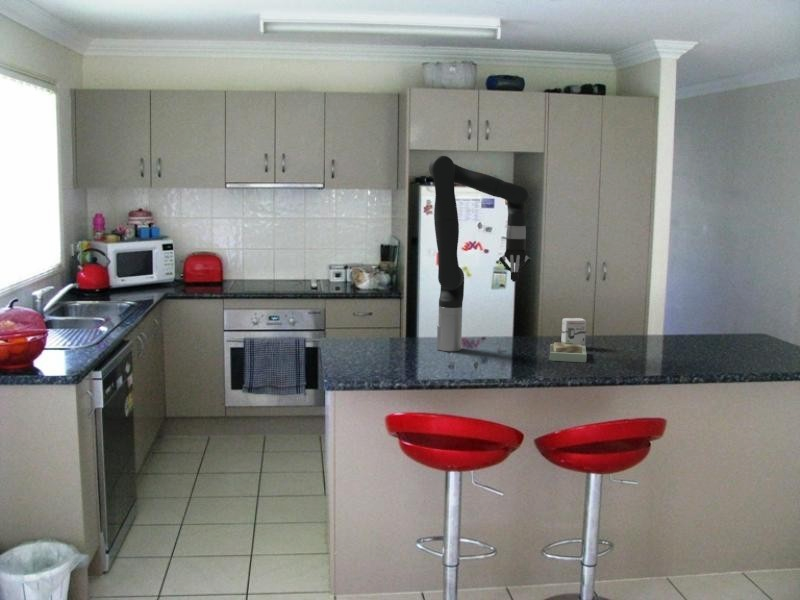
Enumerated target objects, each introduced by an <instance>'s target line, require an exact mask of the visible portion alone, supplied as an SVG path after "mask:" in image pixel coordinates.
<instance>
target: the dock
mask: <svg viewBox="0 0 800 600" xmlns="http://www.w3.org/2000/svg"><path fill="white" fill-rule="evenodd" d="M586 348H587V347H586V345H585V346H582V354H581V353H563V352H554V343H551V344H550V345H549V361H554V362H568V363H569V362H570V363H587V356H588V355H587V349H586Z"/></svg>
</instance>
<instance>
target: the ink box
mask: <svg viewBox="0 0 800 600" xmlns="http://www.w3.org/2000/svg"><path fill="white" fill-rule="evenodd" d="M561 321H562V322H561V323H562V324H561V338H560V339H561V343H565V344H579V345H581V346H585V347H586V333H587V330H586V329H587V320H586V319H584V318H582V317H572V318H571V317H565V318H564V317H563V318H562V319H561Z"/></svg>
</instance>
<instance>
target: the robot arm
mask: <svg viewBox="0 0 800 600" xmlns="http://www.w3.org/2000/svg"><path fill="white" fill-rule="evenodd" d="M428 172H429V173H430V176H431V177H432V178H433V183H434V190H435V191H434V193H435V199H434V208H433V209H434V211H433V222H434V232H435V241H436V247H437V253H438V270H437V271H438V272H437V273H438V274H437V280H438V283H439V285H440V295H439V298H438V322H437V323H438V325H436V327H437V328H436V329H437V331H436V334H437V335H436V350H437V351H444V352H458V351H461V350H462V332H463V330H462V329H463V304H464V303H463V302H464V293H465V292H464V290H465V274H464V270H463V269H462V268H461V267H460V266H459V259H458V247H459V237H460V236H459V235H460V227H459V226H460V224H459V214H458V206H457V200H456V199H457V198H456V194H455V184H459V185H463V186H465V187H468V188H470V189H473V190H475V191H478V192H481V193H484V194H485V195H489V196H491V197H495V198H499V199H502V200H505V201H506V204H507V224H506V226H507V227H506V238H505V251H504V254H503V255H502V256H500V257H499V258H498V260H499V262H500V263H501V264H502V265H503V267H504V268H505V269H506V271H509V272H510V281H512V282H513V283H514V282H517V281H518V280H519V272H522V271H524V270H525V268H526V267H527V266H528V265H529V264H530V262H531V261H532V258H531V257H529V256H528V255H527V252H526V244H527V243H526V236H527V229H526V222H527V216H526V212H525V203H526V202H527V201H528V198H529V192H528V190H527V189H526V187H524V186H522V185H518V184H515V183H512V182H508V181H505V180H503V179H500V178H498V177H495V176H492V175H490V174H486V173H482V172H479V171H474V170H470V169H468V168H465V167H462V166H460V165H458V164H456V163H454V161H453V160H452V158H451V157H449V156H447V155H439V156H437V157H435V158H433V159H432V160H430V163H429V164H428ZM506 260H507V261H506ZM523 261H524V263H523V264H522V265H521V266H520V264H521V263H522V262H523ZM507 262H508V263H510V266H509V264H508V263H507Z"/></svg>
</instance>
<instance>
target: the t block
mask: <svg viewBox="0 0 800 600" xmlns="http://www.w3.org/2000/svg"><path fill="white" fill-rule="evenodd" d="M553 344H554V352H563V353H581V354H582V346H581V345H579V344H565V343H561V342H560V341H559V342H558V341H557V342H553Z"/></svg>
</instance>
